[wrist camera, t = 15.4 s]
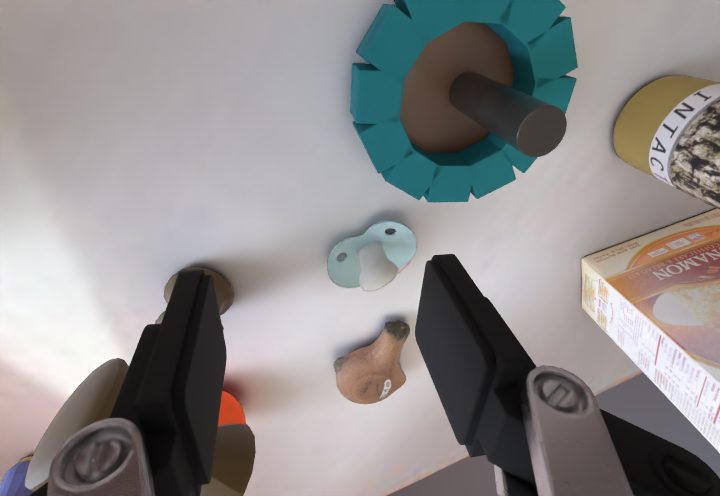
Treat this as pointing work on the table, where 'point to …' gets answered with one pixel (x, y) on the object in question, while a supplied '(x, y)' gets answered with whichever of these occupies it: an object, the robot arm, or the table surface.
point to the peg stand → (474, 97)
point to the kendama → (100, 398)
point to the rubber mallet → (16, 480)
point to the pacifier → (372, 256)
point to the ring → (399, 53)
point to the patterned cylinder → (674, 134)
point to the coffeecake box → (666, 311)
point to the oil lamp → (373, 367)
